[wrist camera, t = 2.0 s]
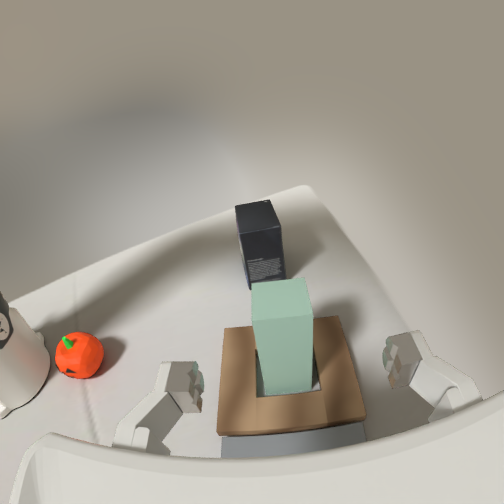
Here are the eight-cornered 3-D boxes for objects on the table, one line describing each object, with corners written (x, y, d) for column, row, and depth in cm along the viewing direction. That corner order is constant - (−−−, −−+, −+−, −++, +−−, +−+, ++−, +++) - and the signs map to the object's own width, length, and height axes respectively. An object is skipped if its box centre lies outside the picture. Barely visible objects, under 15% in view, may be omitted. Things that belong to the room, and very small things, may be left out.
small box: (242, 256, 55) (233, 204, 50) (276, 250, 55) (270, 198, 50) (247, 291, 46) (236, 232, 41) (288, 284, 46) (283, 224, 41)
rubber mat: (218, 561, 13) (216, 561, 13) (223, 439, 25) (221, 437, 25) (382, 544, 12) (385, 544, 12) (360, 424, 24) (362, 421, 24)
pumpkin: (112, 379, 34) (89, 353, 30) (66, 388, 32) (41, 364, 28) (110, 339, 39) (91, 311, 35) (68, 350, 37) (46, 324, 33)
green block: (266, 394, 30) (251, 320, 23) (264, 360, 34) (251, 283, 28) (311, 389, 29) (313, 313, 23) (305, 355, 34) (304, 277, 27)
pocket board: (219, 435, 26) (216, 431, 25) (226, 334, 39) (224, 328, 38) (364, 419, 25) (366, 414, 24) (337, 321, 38) (337, 315, 37)
